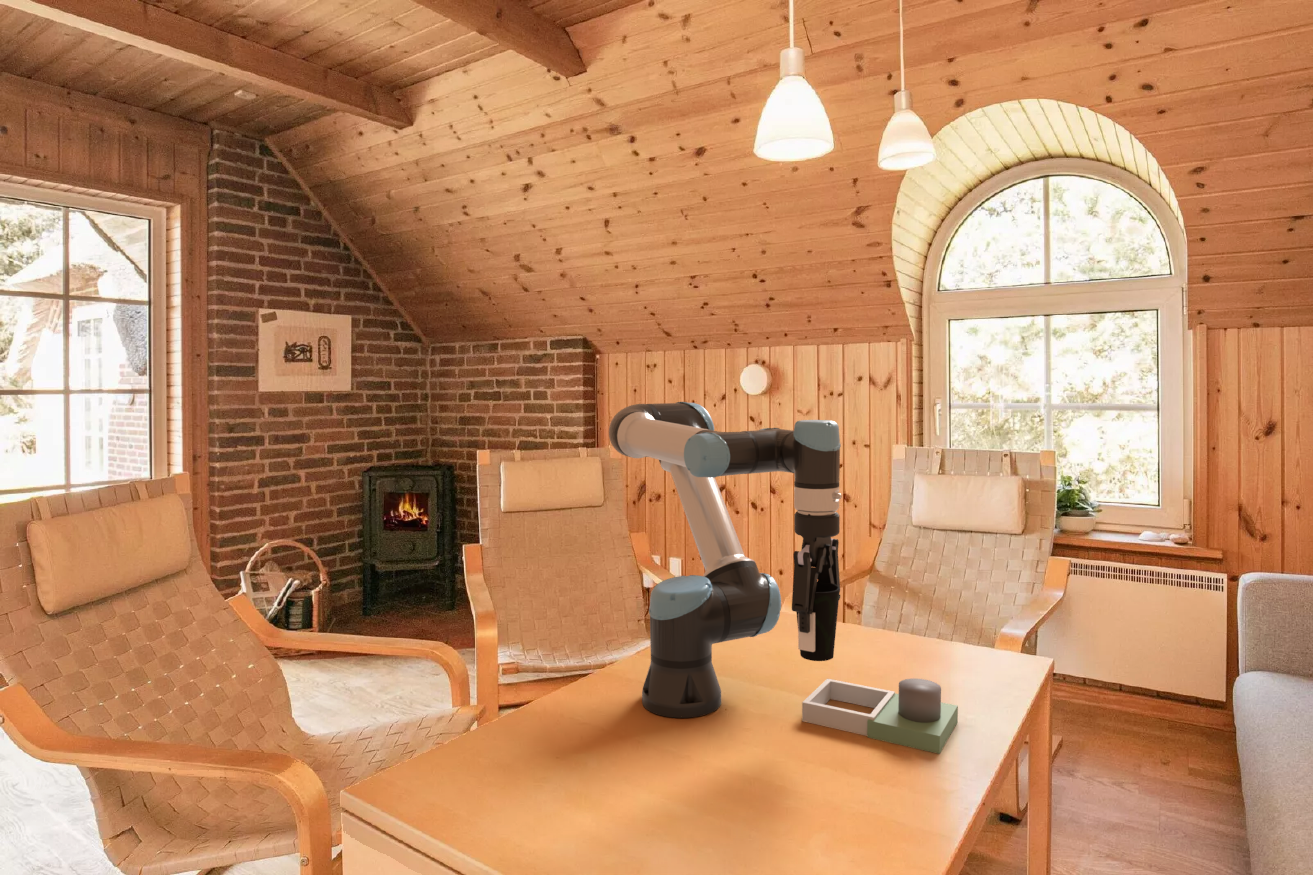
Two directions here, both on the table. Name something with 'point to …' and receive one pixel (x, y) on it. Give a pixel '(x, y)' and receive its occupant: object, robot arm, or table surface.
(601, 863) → the table surface
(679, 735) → the table surface
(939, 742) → the multicoloured boxy piece
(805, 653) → the cup
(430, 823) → the table surface
